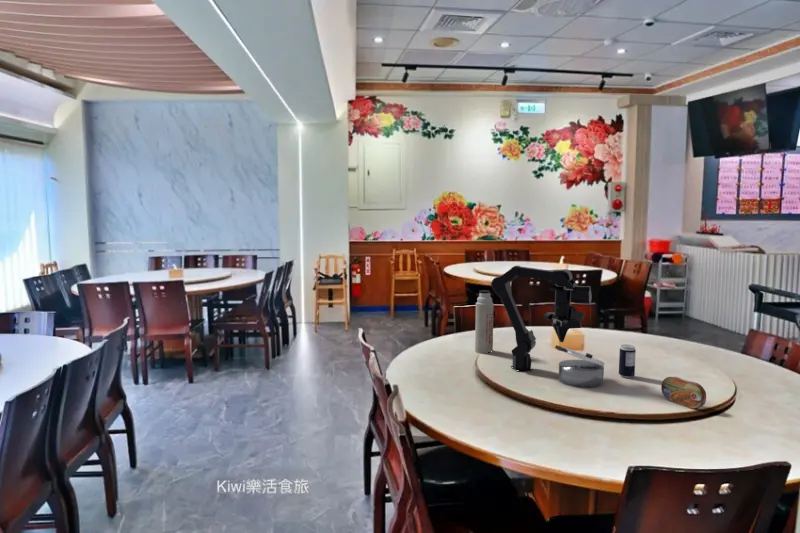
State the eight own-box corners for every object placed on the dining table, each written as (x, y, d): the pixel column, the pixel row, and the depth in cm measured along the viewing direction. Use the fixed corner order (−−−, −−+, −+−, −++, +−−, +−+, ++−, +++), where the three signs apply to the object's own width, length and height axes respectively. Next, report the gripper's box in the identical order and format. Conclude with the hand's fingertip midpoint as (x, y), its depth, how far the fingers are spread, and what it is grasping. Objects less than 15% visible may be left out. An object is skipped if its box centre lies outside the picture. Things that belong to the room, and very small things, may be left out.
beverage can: (634, 375, 211) (636, 345, 209) (634, 379, 205) (635, 348, 204) (619, 373, 213) (620, 343, 212) (618, 377, 208) (619, 346, 207)
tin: (660, 397, 185) (661, 373, 184) (666, 396, 186) (667, 372, 186) (700, 412, 172) (702, 386, 171) (707, 411, 173) (708, 385, 172)
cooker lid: (567, 355, 192) (569, 349, 192) (546, 344, 208) (548, 338, 208) (612, 370, 196) (614, 364, 196) (588, 358, 212) (590, 353, 212)
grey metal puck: (571, 389, 194) (572, 372, 193) (550, 376, 210) (551, 360, 209) (612, 386, 197) (612, 370, 196) (588, 373, 213) (589, 358, 212)
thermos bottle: (496, 352, 246) (497, 291, 243) (481, 354, 242) (482, 292, 239) (485, 348, 253) (486, 288, 250) (471, 350, 249) (472, 290, 246)
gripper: (594, 305, 201) (593, 346, 203) (569, 297, 219) (568, 335, 221) (567, 306, 199) (565, 348, 200) (544, 298, 217) (543, 337, 219)
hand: (561, 341), depth 210 cm, fingers closed
